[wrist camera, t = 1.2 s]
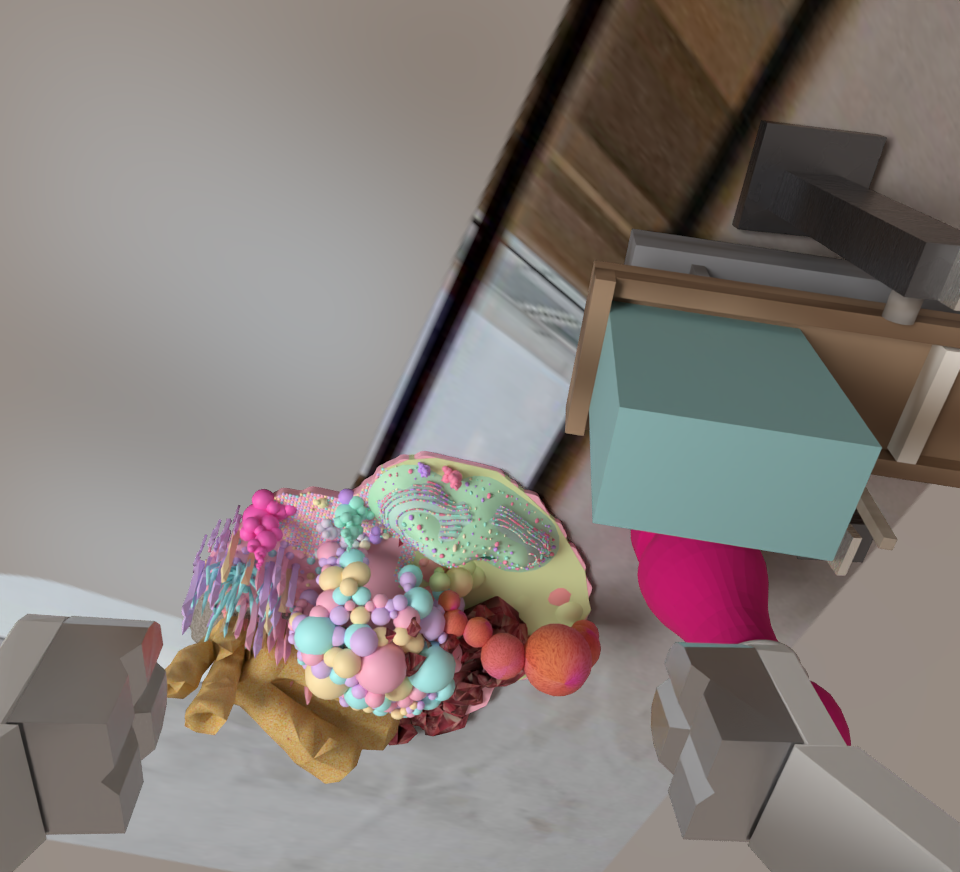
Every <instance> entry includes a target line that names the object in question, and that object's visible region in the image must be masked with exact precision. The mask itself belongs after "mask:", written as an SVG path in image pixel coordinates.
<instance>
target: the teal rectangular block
mask: <svg viewBox="0 0 960 872" xmlns="http://www.w3.org/2000/svg"><path fill="white" fill-rule="evenodd" d="M589 423H590V455H591V487H592V519H593V523H596V524H603V525H609V526H615V527H621V528H628V529H634V530H640V531H646V532H653V533H659V534H665V535H671V536H677V537H684V538H690V539H696V540H702V541H709V542H715V543H721V544H727V545H733V546H740V547H746V548H752V549H758V550H765V551H771V552H777V553H783V554H790V555H796V556H802V557H808V558H814V559H821V560H827V561H833V560H834V557H835V555H836V553H837V550H838V548H839V546H840V543H841V541H842V539H843V537H844V534H845V532H846V530H847V527H848V525H849V523H850V520H851V518H852V516H853V514H854V511H855V509H856V507H857V504H858V502H859V500H860V497H861V495H862V493H863V491H864V488H865V486H866V484H867V481H868V479H869V477H870V474H871V472H872V470H873V467H874V465H875V463H876V461H877V458H878V456H879V454H880V451H881V449H882V447H881V445H880V444H879V442H878V441H877V439H876V438H875V437H874V435H873V434H872V432H871V431H870V429H869V428H868V427H867V425H866V424H865V422H864V421H863V419H862V418H861V416H860V415H859V414H858V412H857V411H856V409H855V408H854V406H853V405H852V403H851V402H850V401H849V399H848V398H847V396H846V395H845V393H844V392H843V390H842V389H841V388H840V386H839V385H838V383H837V382H836V380H835V379H834V378H833V376H832V375H831V373H830V372H829V370H828V369H827V367H826V366H825V365H824V363H823V362H822V360H821V359H820V357H819V356H818V354H817V353H816V352H815V350H814V349H813V347H812V346H811V344H810V343H809V341H808V340H807V339H806V337H805V336H804V334H803V333H802V331H801V330H800V329H799V328H792V327H785V326H779V325H772V324H765V323H759V322H752V321H745V320H739V319H732V318H725V317H719V316H712V315H705V314H699V313H692V312H685V311H679V310H672V309H665V308H659V307H652V306H645V305H638V304H632V303H625V302H618V301H612V303H611V308H610V312H609V317H608V322H607V327H606V331H605V336H604V341H603V346H602V350H601V355H600V360H599V364H598V369H597V374H596V379H595V383H594V388H593V393H592V398H591V402H590V407H589Z"/></svg>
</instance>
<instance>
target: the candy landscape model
mask: <svg viewBox="0 0 960 872" xmlns="http://www.w3.org/2000/svg"><path fill="white" fill-rule="evenodd" d="M252 503H253V504H251V505H250V506H249V507H247V509H246V510H245V511H244V513H243V516H242V515H240V514H238V512H239V508H240V505H238V508H237V510H236V514H235V516H234V520H233V523H234V522H235V521H236V523H235V526H234V529H233V531H232V534H231V531H230V530H229V526H230V524H231V522H232V521H231V519H227V520H226V523H225V526H224V529H223V531H222V533H221V535H220V537H217V539H216V543H215V545H214V549H213V551H212V552H211V547H212V545H213V544H214V542H215V538H216V536H217V534H218V530H219V527H220V523H221V521H222V520H221V519H219V520H218V523H217V525H216V528H215V529H213V531H212V534H211V537H210V540H209V543H208V546H209V551H208V552H211V555H210V556H209V557H208V559H206V560H205V561H202V560H200V556H199V555H200V553H201V552H202V549H203V547H204V545H205V541H206V538H207V535H205V536H204V539H203V542H202V545H201V547H200V550H199V552H197V554H196V558H195V560H194V563H193V566H194V568H193V573H194V574H193V577H192V580H191V585H190V588H189V591H188V594H187V596H186V598H185V601H184V603H183V606H182V615H183V616H184V619H183V622H182V635H183V634H184V632H185V631H186V630H187V629H188V627H190V628H191V631H192V633H191V637H192V639H193V640H194V641H195V642H196V644H193V645H190V646H187V647H185V648H184V649H182V650H180V651H178V653H177V655H176V656H175V658H174V659H173V661H172V663H171V664H170V665H169V666H168V667H167V668H166V669H165V671H166V677H167V697H168V698H180V699H184V698H185V697H186V696H187V695H189V694H190V693H191V692H193V691H194V690H195V689H196V688H197V687H198V685H199V682H200V680H201V677H202V675H203V674H204V672H205V671H206V670H207V669H208V668H209V667H210V665H211V664H212V663H213V662H214V663H213V665H212V667H211V669H210V671H209V673H208V675H207V677H206V678H205V679H204V681H203V682H202V687H201V689H200V691H199V693H198V695H197V696H196V697H195V699H194V700H193V701H192V703H191V704H190V705H189V707H188V708H187V709H186V714H185V719H186V720H185V726H186V727H187V728H189V729H191V730H193V731H195V732H198V733H205V734H211V735H215V734H216V733H217V732H218V730H219V729H220V728H221V727H222V725H223V724H224V723H225V722H226V721H227V719H228V716H229V714H230V711H231V709H232V706H233V704H235V705H239V706H240V707H241V708H242V709H244V710H245V711H246V712H247V713H248V714H249V715H250V716H251V717H252V718H253V719H254V720H255V721H256V722H257V723H258V724H259V725H260V727H261V728H262V729H263V730H264V731H265V732H266V733H267V734H268V735H269V736H270V737H271V738H272V739H273V740H274V741H275V742H276V743H277V744H278V745H279V746H280V747H281V748H282V749H283V750H284V751H285V752H286V753H287V754H288V755H289V756H290V758H291V759H292V760H293V761H294V763H296V764H297V765H299V766H300V767H302V768H303V769H305V770H306V771H308V772H309V773H311V774H312V775H314V776H315V777H317V778H318V779H320V780H321V781H322V782H323V783H325V784H327V783H333V782H340V781H341V780H342V779H343V778H344V777H345V776H346V775H347V774H348V773H349V772H350V771H351V770H352V769H354V768H355V767H356V766H357V763H358V760H359V757H360V753H361V750H362V749H366V750H384V749H385V747H386V746H387V745H388V744H389V745H398V744H404V743H408V742H409V741H410V740H411V739H412V738H413V737H414V736H415V735H416V734H417V731H416V730H415V728H414V727H413V725H415V726H420V727H421V728H422V730H425V735H429V736H436V735H440V734H444V733H448V732H451V731H455V730H458V729H461V728H464V727H465V725H466V722H467V719H468V716H469V713H471V712H473V711H476V710H478V709H479V708H482V707H484V706H486V705H487V703H488V701H489V699H490V696H491V694H492V691H493V689H494V688H495V687H497V686H507V685H510V684H513V683H515V682H516V681H518V680H525V679H527V678H528V679H529V681H530V683H531V684H532V685H533V686H534V687H535V688H536V689H538V690H539V691H541V692H544V693H546V694H549V695H552V696H565V695H568V694H572V693H574V692H575V691H577V690H578V689H579V688H581V686H582V685H583V684H584V682H585V681H586V679H587V678H588V676H589V675H590V672H591V667H593V665H594V664H595V663H596V662H597V660H598V659H599V656H600V651H601V647H600V642H599V632H598V629H597V627H596V625H595V624H594V623H593V622H591V621H588V620H586V619H587V617H588V615H589V613H590V611H591V607H590V603H589V599H588V598H589V596H590V594H591V591H592V586H591V583H590V581H589V580H588V578H587V576H586V574H585V569H586V565H585V562H584V560H583V559H582V557H581V555H580V553H579V552H578V550H577V549H576V546H575V545H574V544H573V543H571V542H569V541H568V540H567V534H566V531H565V529H564V527H563V526H562V523H561V521H560V520H559V519H557V518H554V517H553V516H552V515H551V514H550V513H549V511H548V510H547V509H546V507H545V505H544V503H543V502H542V500H541V499H540V497H539V495H538V494H537V493H536V492H534V491H530V490H526V489H523V488H522V487H520V486H519V485H518V484H517V482H516V481H515V480H513V479H510V478H509V477H508V476H506V475H505V474H504V472H503V471H502V470H501V469H499V468H496V467H492V466H488V465H484V464H481V463H476V462H472V461H467V460H463V459H458V458H454V457H450V456H445V455H441V454H437V453H432V452H428V451H421V452H419V453H417V454H415V455H400V456H398V457H397V458H395V459H392V460H390V461H388V462H386V463H385V464H382V465H380V466H379V467H378V468H377V469H376V471H375V473H374V475H372V476H371V477H369V478H367V479H365V480H364V481H363V483H362V484H361V485H360V486H359V487H357V488H355V489H353V490H351V489H343V490H342V491H341V492H339V491H334V490H330V489H325V488H320V487H314V486H313V487H308V488H306V489H304V490H295V489H290V488H281V489H280V490H278V491H276V492H274V493H272V492H271V491H269V490H267V489H261V490H258V491H257V492H255V494H254V495H253V497H252ZM241 516H242V522H241V523H240V519H241ZM230 534H231V538H230V540H229V537H230ZM228 541H229V542H228ZM203 570H204V571H203ZM202 573H203V574H202ZM411 723H412V724H411Z"/></svg>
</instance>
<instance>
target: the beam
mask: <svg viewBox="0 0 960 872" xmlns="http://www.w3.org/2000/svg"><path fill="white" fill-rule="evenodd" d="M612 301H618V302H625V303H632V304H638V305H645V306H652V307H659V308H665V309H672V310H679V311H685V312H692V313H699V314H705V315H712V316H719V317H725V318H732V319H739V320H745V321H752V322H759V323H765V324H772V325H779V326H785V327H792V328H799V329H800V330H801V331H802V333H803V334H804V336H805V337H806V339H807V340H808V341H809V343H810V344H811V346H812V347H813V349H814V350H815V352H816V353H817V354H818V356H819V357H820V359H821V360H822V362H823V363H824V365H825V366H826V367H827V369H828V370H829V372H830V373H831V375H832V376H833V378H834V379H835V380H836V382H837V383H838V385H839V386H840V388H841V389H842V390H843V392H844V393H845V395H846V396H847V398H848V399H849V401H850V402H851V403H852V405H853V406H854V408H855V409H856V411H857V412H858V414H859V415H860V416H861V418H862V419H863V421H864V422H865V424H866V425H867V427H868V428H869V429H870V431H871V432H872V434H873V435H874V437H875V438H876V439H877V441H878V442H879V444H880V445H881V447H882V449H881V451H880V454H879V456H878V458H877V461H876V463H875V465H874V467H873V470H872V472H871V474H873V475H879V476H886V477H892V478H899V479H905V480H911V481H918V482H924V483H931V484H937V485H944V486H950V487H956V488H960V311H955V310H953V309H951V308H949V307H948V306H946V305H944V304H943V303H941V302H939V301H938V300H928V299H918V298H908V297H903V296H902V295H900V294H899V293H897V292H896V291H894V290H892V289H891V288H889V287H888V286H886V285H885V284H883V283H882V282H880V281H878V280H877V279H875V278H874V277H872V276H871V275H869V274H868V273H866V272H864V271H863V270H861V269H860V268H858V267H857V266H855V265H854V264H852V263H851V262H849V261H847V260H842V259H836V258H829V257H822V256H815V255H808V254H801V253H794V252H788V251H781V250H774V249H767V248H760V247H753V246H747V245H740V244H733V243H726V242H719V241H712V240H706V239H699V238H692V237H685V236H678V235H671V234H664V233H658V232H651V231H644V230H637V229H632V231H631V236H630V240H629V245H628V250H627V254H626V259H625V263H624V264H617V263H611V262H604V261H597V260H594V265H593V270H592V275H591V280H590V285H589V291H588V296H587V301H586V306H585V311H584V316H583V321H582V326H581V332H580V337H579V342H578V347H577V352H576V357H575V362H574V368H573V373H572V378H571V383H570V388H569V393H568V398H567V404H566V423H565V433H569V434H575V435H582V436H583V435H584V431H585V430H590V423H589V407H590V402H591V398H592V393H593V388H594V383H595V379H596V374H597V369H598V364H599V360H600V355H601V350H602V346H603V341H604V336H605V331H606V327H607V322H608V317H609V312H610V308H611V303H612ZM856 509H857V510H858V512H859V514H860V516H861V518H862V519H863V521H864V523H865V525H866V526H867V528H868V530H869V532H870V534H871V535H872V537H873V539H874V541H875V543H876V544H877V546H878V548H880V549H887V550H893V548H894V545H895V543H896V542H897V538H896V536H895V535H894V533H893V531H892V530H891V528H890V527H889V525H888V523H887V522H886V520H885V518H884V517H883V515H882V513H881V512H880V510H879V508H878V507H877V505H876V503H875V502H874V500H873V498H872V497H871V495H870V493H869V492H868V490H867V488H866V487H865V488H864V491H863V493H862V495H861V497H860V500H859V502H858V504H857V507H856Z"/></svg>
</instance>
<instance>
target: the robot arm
mask: <svg viewBox="0 0 960 872" xmlns="http://www.w3.org/2000/svg"><path fill="white" fill-rule="evenodd" d="M162 646H163V641H162V634H161V628H160V624H158V623H157V622H155V621H143V620H127V619H112V618H96V617H81V616H71V617H65V616H51V615H37V614H27V615H25V616H24V617H23V618H21V619H20V620H18V621H17V622H16V623H15V624H14V626H13V627H12V629H11V631H10V632H9V634H8V635H7V637H6V638H5V640H4V641H3V643H2V644H1V646H0V872H13V871H14V870H15V869H16V868H17V867H18V866H20V865H21V863H23V862H24V860H26V859H27V858H28V857H29V856H30V855H31V854H32V853H33V852H34V851H35V850H36V849H37V848H38V847H39V846H40V845H41V844H42V843H43V842H44V841H45V840H46V835H51V834H110V833H125V832H126V829H127V827H128V824H129V821H130V818H131V815H132V813H133V810H134V807H135V804H136V801H137V799H138V796H139V793H140V790H141V788H142V785H143V782H144V781H143V773H142V765H141V760H142V759H144V758H145V757H146V756H147V755H149V754H150V753H151V752H152V751H153V750H155V748H156V745H157V742H158V739H159V736H160V733H161V730H162V726H163V721H164V715H165V710H166V705H167V677H166V671H165V670H164V669H163V668H162V667H161V666H160V665H159V664H158V663H157V659H158V657H159V654H160V651H161V649H162ZM664 664H665V666H666V669H667V672H668V675H669V678H668V679H667V680H666V681H665V682H663V683H662V684H661V685H660V686H658V687H657V688H656V692H655V696H654V699H653V703H652V709H651V731H652V737H653V744H654V747H655V751H656V754H657V757H658V761H659V762H660V763H662V764H663V765H664V766H665V767H666V768H667V769H668V770H669V771H670V772H671V773H672V774H673V778H672V781H671V784H670V786H669V789H668V793H669V796H670V799H671V803H672V806H673V809H674V812H675V815H676V818H677V822H678V825H679V828H680V831H681V834H682V837H683V839H689V840H714V841H739V842H749V844H748V846H749V847H750V848H751V850H752V851H753V852H754V853H755V854H756V855H757V856H758V858H760V860H761V861H762V862H763V863H764V864H765V865H766V866H767V868H768V869H769V870H770V871H771V872H960V823H959V822H958V821H957V820H956V819H954V818H953V817H952V816H950V815H949V814H947V813H946V812H945V811H944V810H942V809H941V808H940V807H938V806H937V805H936V804H934V803H933V802H932V801H930V800H929V799H928V798H926V797H925V796H924V795H922V794H921V793H920V792H918V791H917V790H916V789H914V788H913V787H912V786H910V785H909V784H908V783H906V782H905V781H904V780H902V779H901V778H900V777H898V776H897V775H896V774H894V773H893V772H892V771H890V770H889V769H888V768H886V767H885V766H884V765H882V764H881V763H880V762H878V761H877V760H876V759H874V758H873V757H872V756H870V755H869V754H868V753H866V752H865V751H864V750H862V749H861V748H860V747H858V746H847V745H846V743H845V741H844V739H843V738H842V736H841V734H840V733H839V731H838V729H837V727H836V726H835V724H834V722H833V720H832V719H831V717H830V715H829V713H828V712H827V710H826V708H825V706H824V705H823V703H822V701H821V699H820V698H819V696H818V694H817V693H816V691H815V689H814V687H813V686H812V684H811V682H810V680H809V679H808V677H807V675H806V673H805V672H804V670H803V668H802V666H801V665H800V663H799V661H798V659H797V658H796V656H795V654H794V653H793V651H792V650H791V649H789V648H788V647H787V646H785V645H761V644H748V645H744V644H719V643H688V642H675V643H674V644H673V646H672V647H671V648H670V649H669V652H668V655H667V657H666V660H665V663H664Z"/></svg>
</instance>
